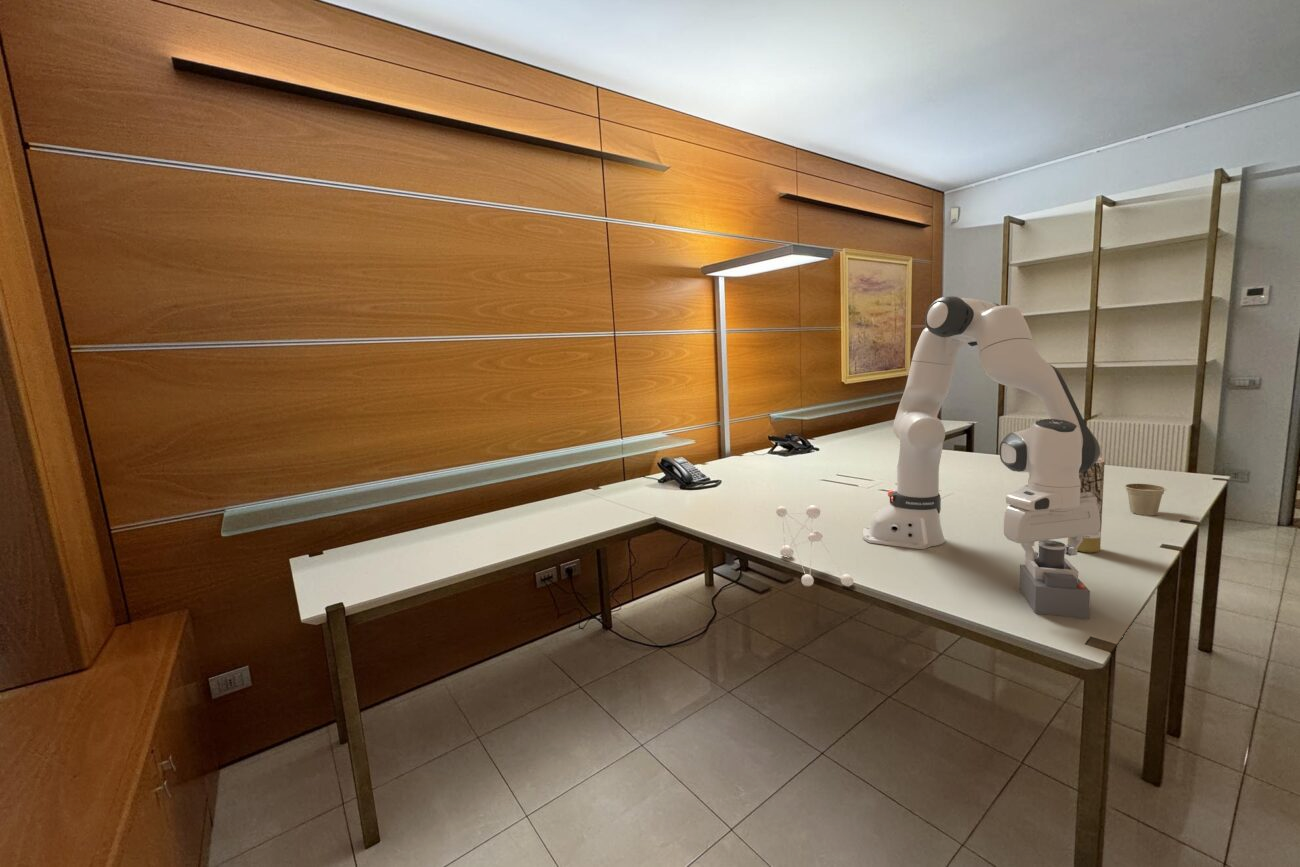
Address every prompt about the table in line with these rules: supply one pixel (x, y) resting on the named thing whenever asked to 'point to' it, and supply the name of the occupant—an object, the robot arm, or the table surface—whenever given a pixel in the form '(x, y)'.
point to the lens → (1051, 554)
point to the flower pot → (1144, 498)
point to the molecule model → (814, 536)
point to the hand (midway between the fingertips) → (1050, 557)
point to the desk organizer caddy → (1054, 590)
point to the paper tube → (1094, 484)
